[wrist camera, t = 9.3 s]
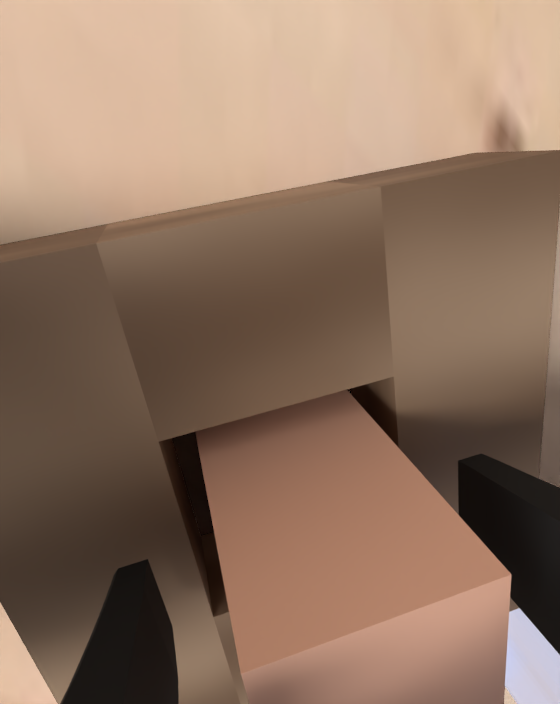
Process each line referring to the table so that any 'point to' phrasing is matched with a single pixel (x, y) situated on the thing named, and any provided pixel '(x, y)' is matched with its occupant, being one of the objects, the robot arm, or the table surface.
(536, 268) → the walnut stand board
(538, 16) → the table surface
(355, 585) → the terracotta peg
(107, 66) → the table surface
